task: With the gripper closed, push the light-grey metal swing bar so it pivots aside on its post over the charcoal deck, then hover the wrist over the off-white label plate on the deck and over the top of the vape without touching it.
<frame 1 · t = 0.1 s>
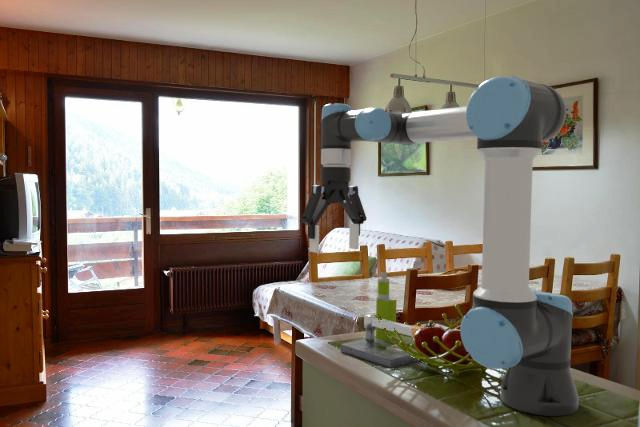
hand: (334, 250, 149), 28 cm above the kitchen counter, fingers open, 13 cm apart
deck: (380, 355, 154), on the kitchen counter
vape: (385, 342, 167), on the kitchen counter
swing arm: (392, 327, 155), point 7 cm above the kitchen counter, hinge at 0.0°
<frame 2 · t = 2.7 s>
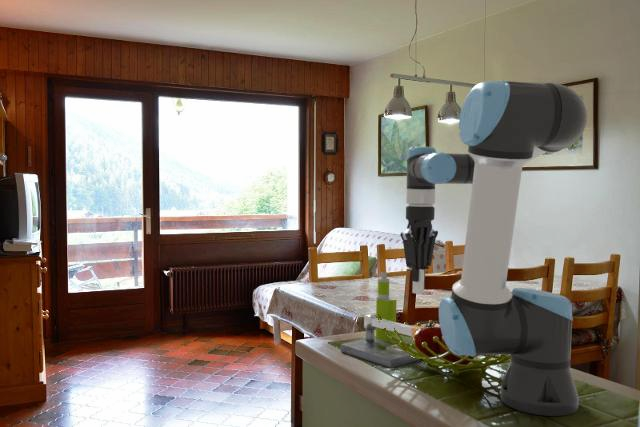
hand: (418, 293, 157), 16 cm above the kitchen counter, fingers closed
nothing on the kitchen counter moved.
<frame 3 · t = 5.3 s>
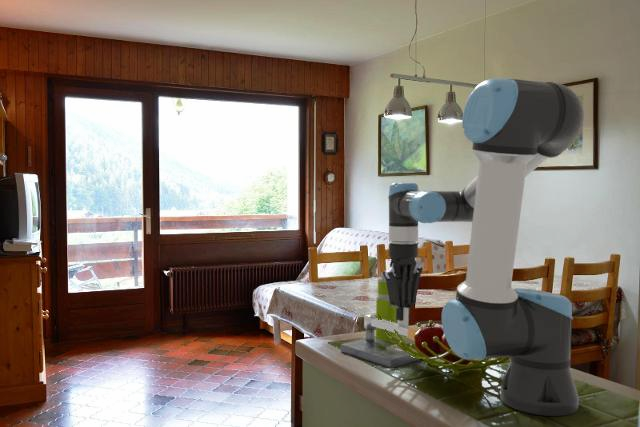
hand: (402, 332, 153), 6 cm above the kitchen counter, fingers closed
swing arm: (390, 327, 155), point 7 cm above the kitchen counter, hinge at 4.4°, touching gripper
everything else where it was.
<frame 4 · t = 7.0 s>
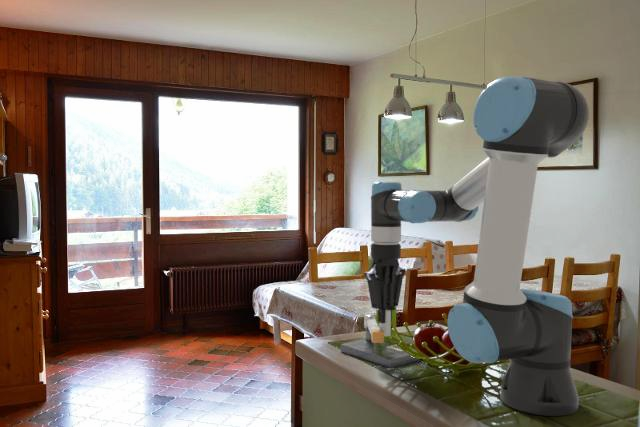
hand: (384, 335, 150), 7 cm above the kitchen counter, fingers closed
swing arm: (373, 328, 153), point 7 cm above the kitchen counter, hinge at 39.2°, touching gripper
everything else where it was.
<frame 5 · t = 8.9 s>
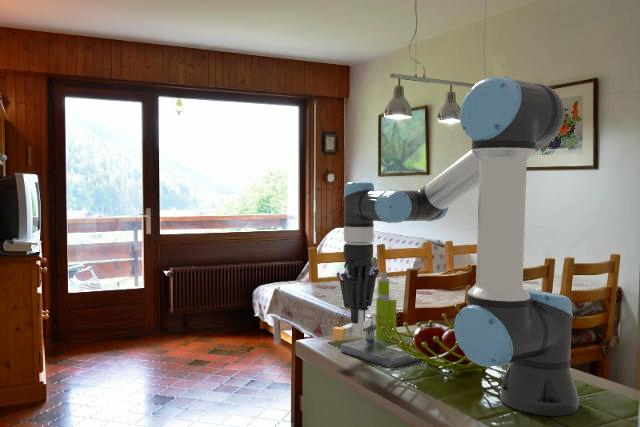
hand: (357, 335, 150), 6 cm above the kitchen counter, fingers closed
swing arm: (355, 327, 154), point 7 cm above the kitchen counter, hinge at 72.3°, touching gripper
everything else where it was.
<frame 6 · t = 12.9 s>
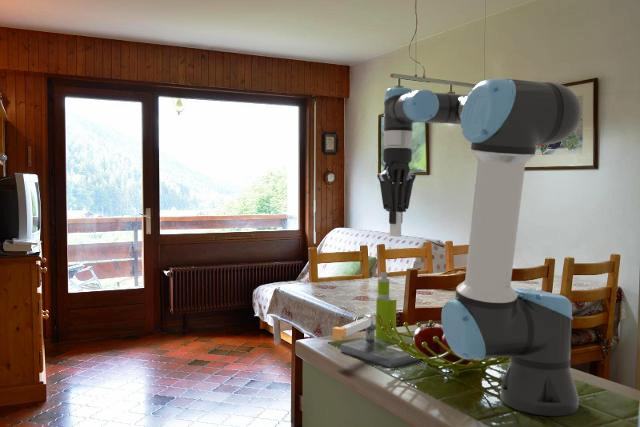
hand: (395, 236, 157), 31 cm above the kitchen counter, fingers closed
swing arm: (355, 327, 154), point 7 cm above the kitchen counter, hinge at 72.3°
everything else where it was.
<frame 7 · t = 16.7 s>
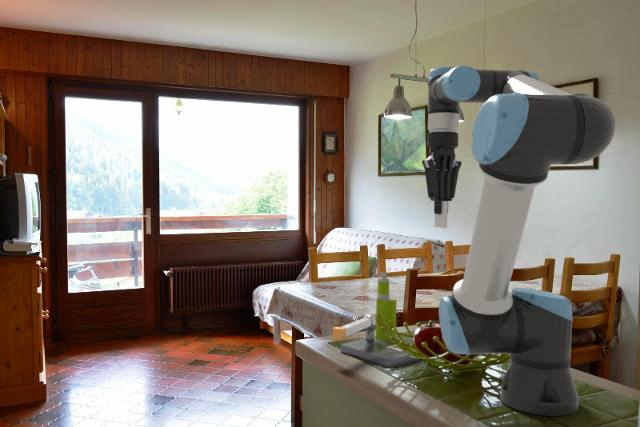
hand: (440, 227, 146), 34 cm above the kitchen counter, fingers closed
nothing on the kitchen counter moved.
at the end: swing arm at +72° (first picture: +0°); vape moved 0.2 cm from its start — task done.
